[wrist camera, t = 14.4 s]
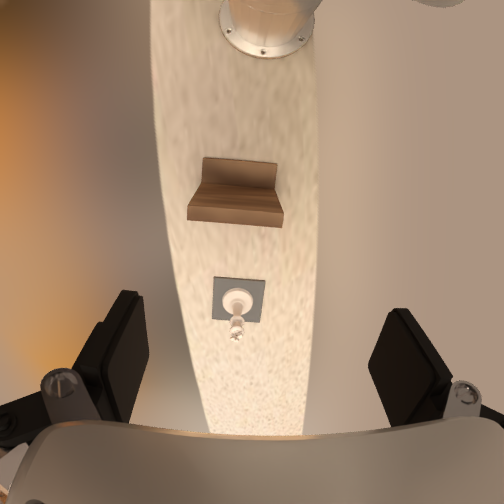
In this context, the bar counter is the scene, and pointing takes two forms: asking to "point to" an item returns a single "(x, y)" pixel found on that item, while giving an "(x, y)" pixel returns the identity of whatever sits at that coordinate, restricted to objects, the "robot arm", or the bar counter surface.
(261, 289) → the pad
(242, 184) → the brown piece
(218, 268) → the bar counter surface
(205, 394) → the bar counter surface
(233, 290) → the chess piece
